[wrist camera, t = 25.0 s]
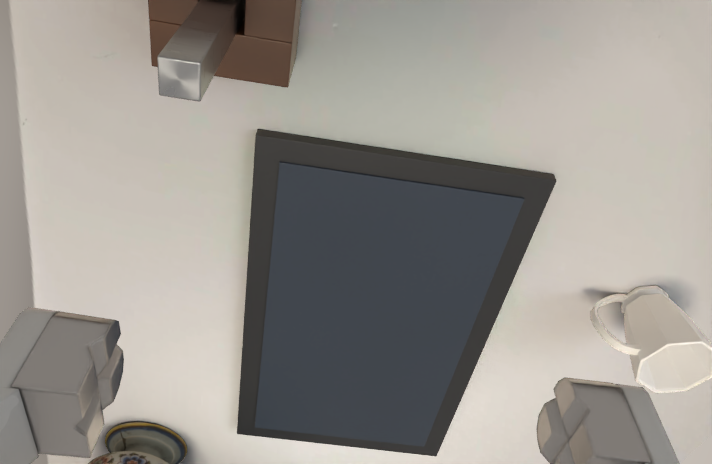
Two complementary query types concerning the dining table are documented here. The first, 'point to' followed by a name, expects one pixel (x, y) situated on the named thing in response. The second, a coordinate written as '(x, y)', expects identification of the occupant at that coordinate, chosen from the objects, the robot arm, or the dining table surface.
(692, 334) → the cup
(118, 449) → the apothecary jar
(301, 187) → the drawing tablet
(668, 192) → the dining table surface
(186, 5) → the brown block with hole
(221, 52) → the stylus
